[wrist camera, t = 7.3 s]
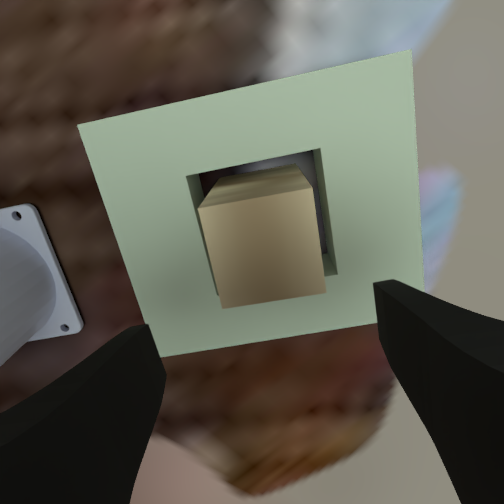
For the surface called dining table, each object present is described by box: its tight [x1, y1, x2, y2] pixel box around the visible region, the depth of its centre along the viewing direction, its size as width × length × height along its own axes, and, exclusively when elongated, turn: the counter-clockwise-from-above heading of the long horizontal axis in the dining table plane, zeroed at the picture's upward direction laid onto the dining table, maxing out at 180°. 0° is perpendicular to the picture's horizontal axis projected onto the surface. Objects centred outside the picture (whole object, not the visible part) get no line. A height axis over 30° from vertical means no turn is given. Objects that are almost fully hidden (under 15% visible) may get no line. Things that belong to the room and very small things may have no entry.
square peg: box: [198, 164, 327, 309], centre depth 17 cm, size 4×4×7 cm
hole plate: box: [77, 49, 425, 357], centre depth 19 cm, size 14×12×3 cm
